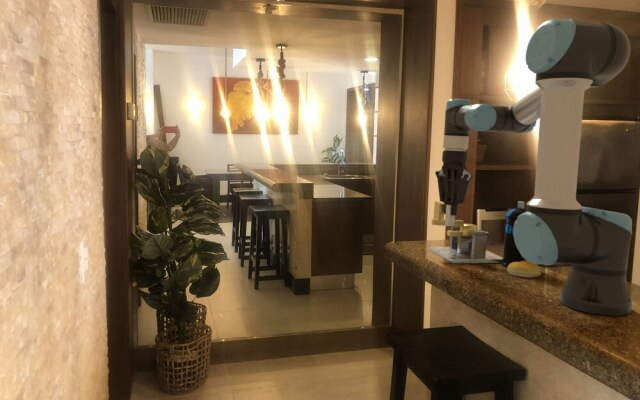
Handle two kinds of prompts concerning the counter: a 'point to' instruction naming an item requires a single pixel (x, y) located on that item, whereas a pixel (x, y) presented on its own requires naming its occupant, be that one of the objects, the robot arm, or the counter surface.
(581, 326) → the counter surface
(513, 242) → the aerosol can
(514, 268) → the bread roll
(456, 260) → the socket base
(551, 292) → the counter surface
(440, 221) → the gold branched bar piece
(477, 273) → the counter surface
